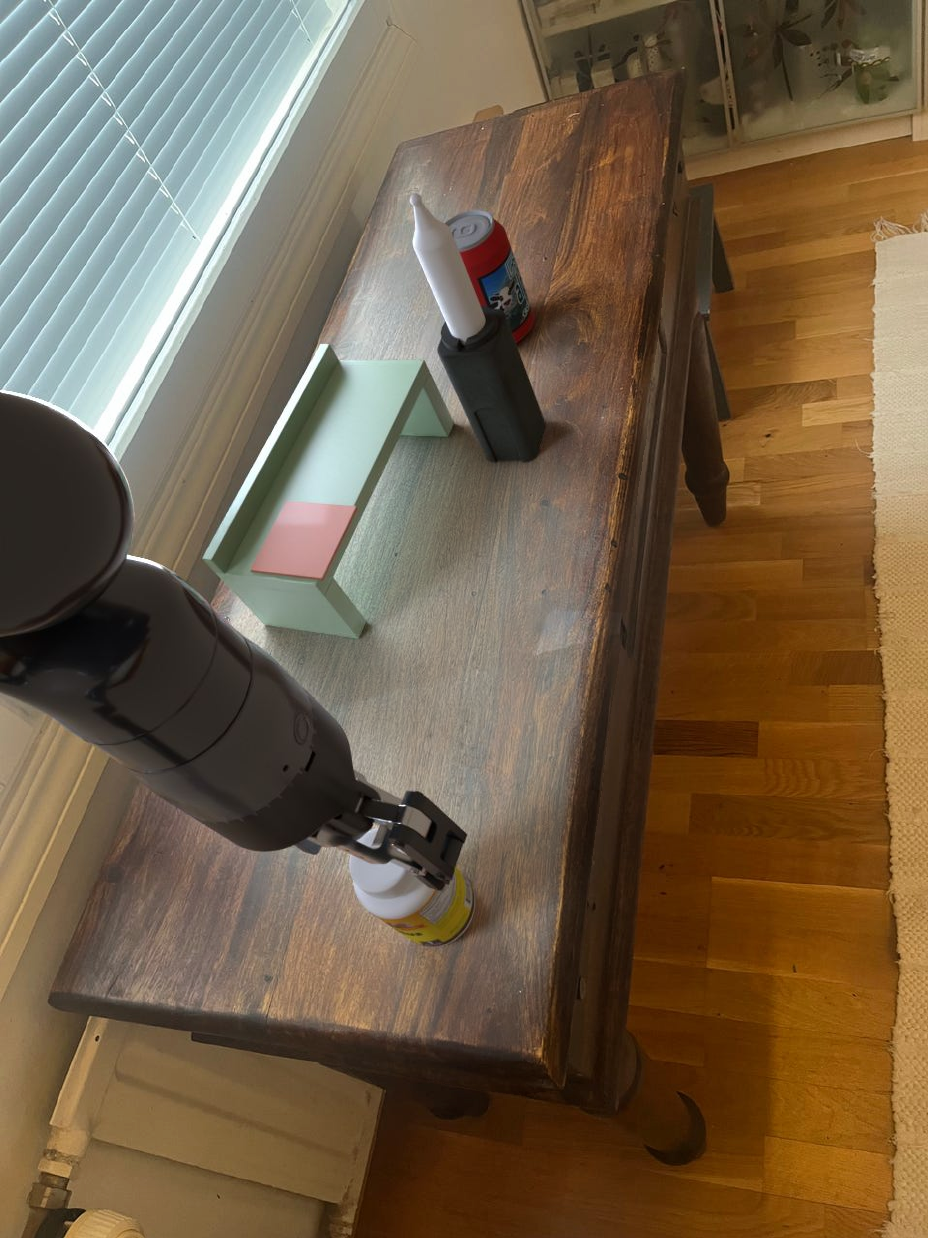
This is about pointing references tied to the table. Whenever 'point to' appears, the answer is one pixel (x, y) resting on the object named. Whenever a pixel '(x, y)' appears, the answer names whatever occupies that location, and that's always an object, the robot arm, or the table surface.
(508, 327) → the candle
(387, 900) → the supplement bottle
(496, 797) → the table surface
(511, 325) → the beverage can
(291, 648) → the table surface
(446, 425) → the shelf
